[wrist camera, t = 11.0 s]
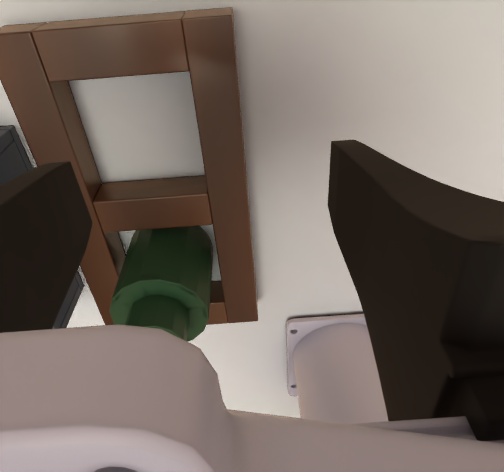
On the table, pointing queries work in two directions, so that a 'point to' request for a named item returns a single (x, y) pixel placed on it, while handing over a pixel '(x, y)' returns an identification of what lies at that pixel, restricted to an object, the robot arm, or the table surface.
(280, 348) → the table surface
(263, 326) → the table surface
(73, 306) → the basket
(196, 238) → the green bottle
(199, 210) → the rack
